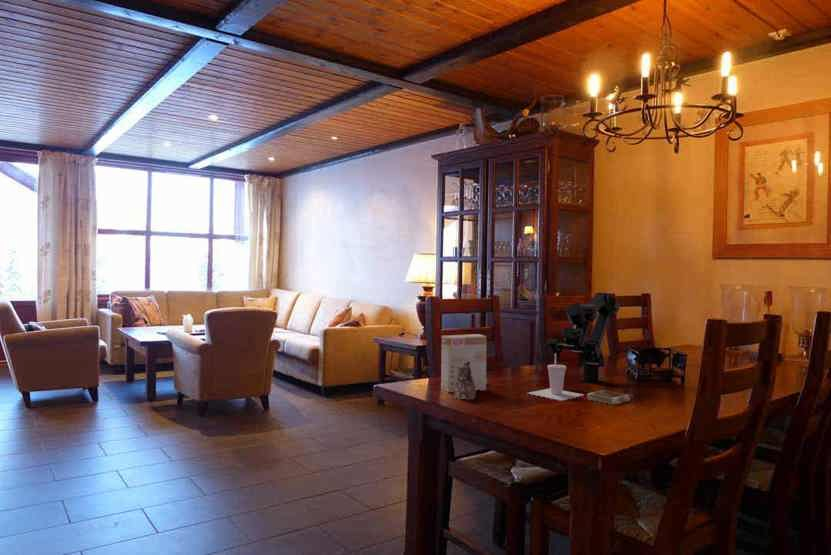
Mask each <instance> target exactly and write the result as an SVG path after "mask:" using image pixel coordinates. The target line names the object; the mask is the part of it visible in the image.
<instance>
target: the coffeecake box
mask: <svg viewBox="0 0 831 555" xmlns="http://www.w3.org/2000/svg"><path fill="white" fill-rule="evenodd" d="M440 351H441V354H440V356H441V359H440V360H441V363H440V365H441V368H440V369H441V371H440V373H441V374H440V378H441V379H440V389H441V390H442V389H443V390H442V391H444V390H445V391H444V392H446V391H447V392H446V393H448V392H450V393H454V390H455V384H456V379H457V378H456V376H458V366H459V365H460V364H461V363H462V362H467V361H469V362H470V364H469V367H470V369H471V376H472V377H473V379H474V385H475V392H477V390H480V391H487V384H486V378H487V335H483V334H481V333H477V334H475V333H474V334H473V333H472V334H449V335H446V334H445V335H443V334H442V335H441V350H440Z"/></svg>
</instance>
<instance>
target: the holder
mask: <svg viewBox="0 0 831 555" xmlns="http://www.w3.org/2000/svg"><path fill="white" fill-rule="evenodd" d="M587 399H588V400H587ZM586 400H587V401H591V400H593V401H594V402H596V401H598V402H597V403H601V402H603V403H602V404H606V403H608V404H607V405H612V404H613V405H612V406H615V404H617V405H620V404H623V403H622V402H624V403H626V401H627V402H630V401H629V400H631V394H626V393H621V392H616V391H611V390H604V389H601V390H597V391H593V392H589V393H586ZM593 401H592V402H593ZM619 403H620V404H619Z"/></svg>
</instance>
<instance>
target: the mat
mask: <svg viewBox="0 0 831 555" xmlns="http://www.w3.org/2000/svg"><path fill="white" fill-rule="evenodd" d="M528 394H530V396H533V395H535V396H534V397H538V396H540V398H543V397H545V398H544V399H548V398H549V399H548V400H553V399H554V400H553V401H557V400H558V401H559V402H565V401H567V400H568V399H569V400H573V399H576V397H577V398H581V397H585V396H584V395H586V394H585V393H584V394H583V393H577V392H572V391H567V390H563V389H562V394H561V395H553V394H551V390H550V387H548V388H545V389H539V390H536V391H535V390H534V391H530V392H527V393H526V395H528ZM580 396H581V397H580ZM572 398H573V399H572ZM564 400H565V401H564Z"/></svg>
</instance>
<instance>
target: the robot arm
mask: <svg viewBox="0 0 831 555" xmlns="http://www.w3.org/2000/svg"><path fill="white" fill-rule="evenodd" d="M619 310H620V302H619V301H618V299H617V298H615V297H613V296H611V295H610V294H609V293H608V292H595V294H594V296H593V297H592V298H591V299H590V300H589V301H588V302H586V303H584V304H580V302H577V301H574V302H573V303H572V304H570V305H568V307H566V309H565V312H566V315H567V318H568V320H569V324H571V325H572V327H562V331H561V337H562V338H564V339H563V341H564V343H560V341H559V339H551V338H549V339H547V341H546V344H545V345H546V347H547V349H548V351H549V353H550V354H551V355H552V365H554V364H555V353H556V365H558V361H559V360H560V358H561V354H562V351H564V350H565V351H571V352H575V353H576V352H577V353H578V364H577V370H580V369H581V368H583V378H581V379H580V381H582V382H587V383H592V384H598V383H601V382H603V381H604V380H603V379H600V374H601V373H600V370H601V368H605V366H606V365H605V364H606V359H605V357H604V354H603V351H602V347H601V345H602V343H603V339H604V337H605V335H606V331H607V328H608V326H609V323H610V321H611V320H612V319H613V318H616V316H617V314H618V312H619ZM589 322H590V323H591V322H592V323H593V322H595V323H594V326H593V328H592V331H591V329H590V324H589ZM590 332H591V333H590ZM588 333H590V336H589V339H587V340H586V337H587V334H588Z"/></svg>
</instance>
